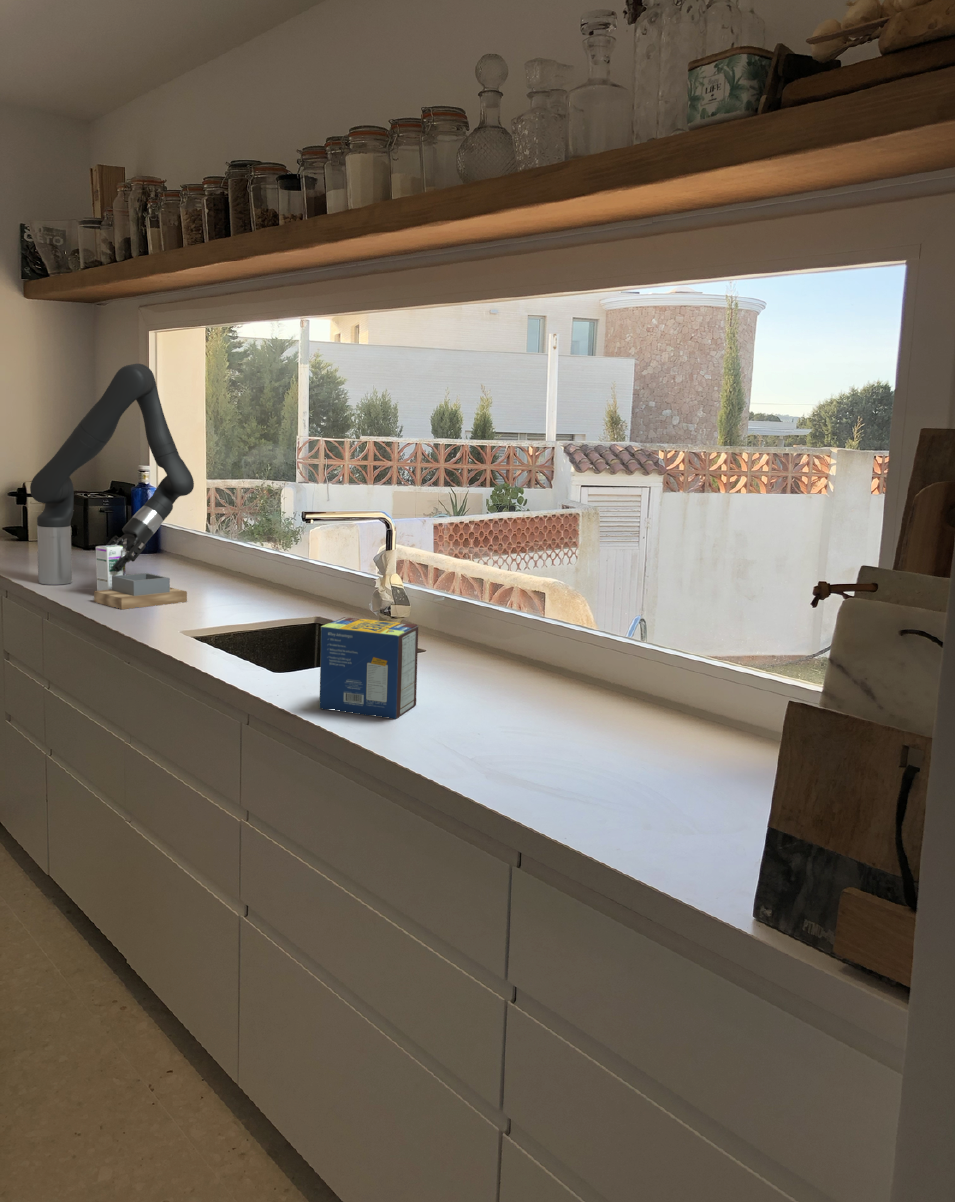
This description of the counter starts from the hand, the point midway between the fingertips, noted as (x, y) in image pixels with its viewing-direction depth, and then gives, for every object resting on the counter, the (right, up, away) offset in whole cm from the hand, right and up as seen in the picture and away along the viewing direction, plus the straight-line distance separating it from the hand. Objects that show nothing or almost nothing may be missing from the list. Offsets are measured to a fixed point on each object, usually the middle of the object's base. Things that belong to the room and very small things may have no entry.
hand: (107, 567), depth 282 cm
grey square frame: (+11, -7, -4) cm, 14 cm away
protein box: (+84, -29, -96) cm, 131 cm away
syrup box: (0, -8, +2) cm, 9 cm away
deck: (+11, -10, -4) cm, 15 cm away
